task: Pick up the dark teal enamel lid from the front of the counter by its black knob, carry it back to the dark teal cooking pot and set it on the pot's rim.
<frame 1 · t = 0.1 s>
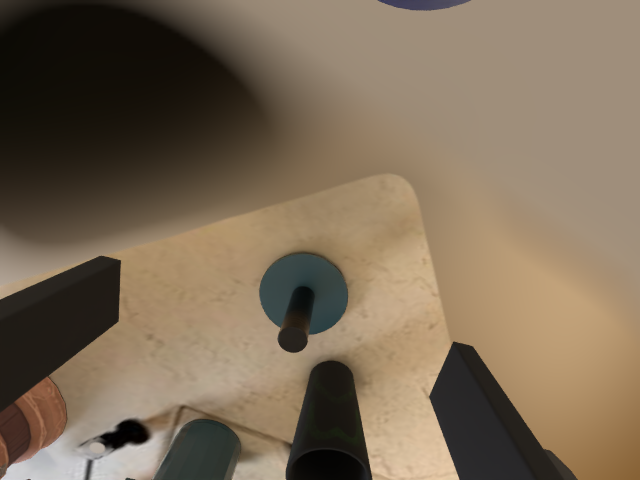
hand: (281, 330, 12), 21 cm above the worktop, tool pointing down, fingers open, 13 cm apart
mug: (13, 410, 43), on the worktop
cup: (331, 377, 38), on the worktop
lid: (303, 294, 34), point 1 cm above the worktop
pot: (209, 444, 42), on the worktop
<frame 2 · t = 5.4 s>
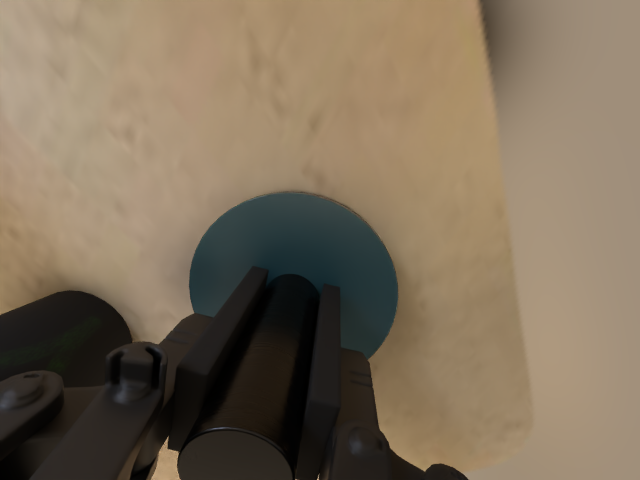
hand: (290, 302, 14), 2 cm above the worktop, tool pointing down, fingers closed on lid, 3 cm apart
cup: (86, 332, 17), on the worktop
lid: (293, 293, 14), point 1 cm above the worktop, touching gripper
when the fingers open (9 cm above the worktop, at t = 11.9 s): lid stays where it is, resting on pot.
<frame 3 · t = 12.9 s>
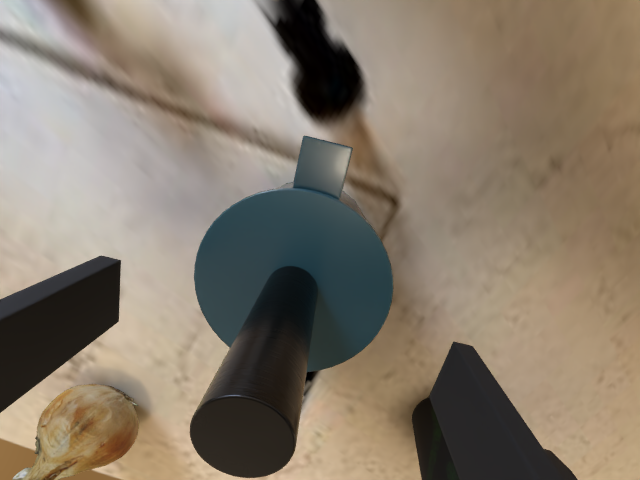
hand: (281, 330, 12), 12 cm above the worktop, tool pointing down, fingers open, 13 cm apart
cup: (441, 416, 28), on the worktop
lid: (293, 285, 15), point 8 cm above the worktop, touching pot
pot: (309, 239, 23), on the worktop
onion: (117, 397, 29), on the worktop
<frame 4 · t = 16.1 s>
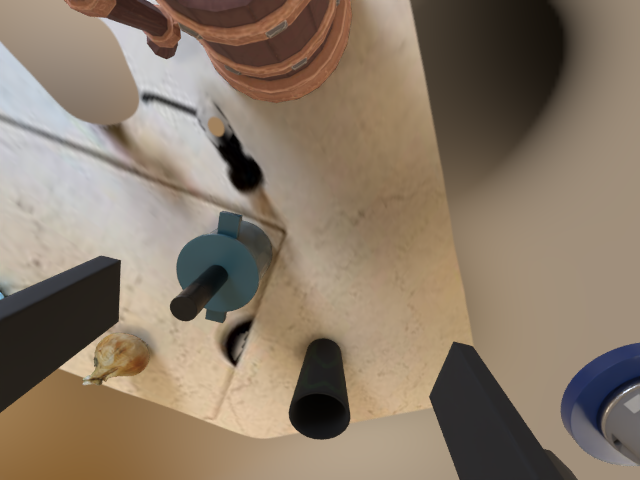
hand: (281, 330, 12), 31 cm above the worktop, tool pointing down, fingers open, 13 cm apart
mug: (257, 25, 35), on the worktop
cup: (324, 352, 48), on the worktop
lid: (218, 273, 36), point 8 cm above the worktop, touching pot
pot: (241, 250, 44), on the worktop
onion: (136, 342, 50), on the worktop
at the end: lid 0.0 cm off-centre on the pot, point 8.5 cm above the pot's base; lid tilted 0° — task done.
